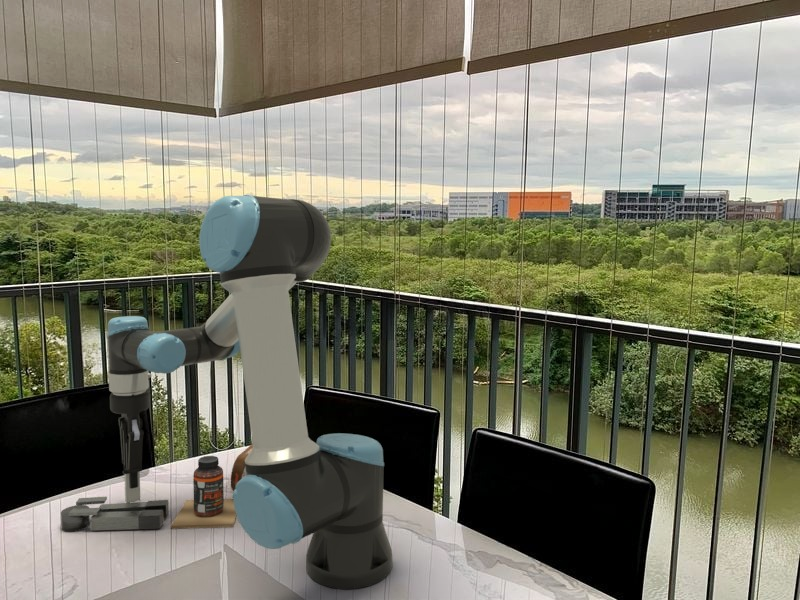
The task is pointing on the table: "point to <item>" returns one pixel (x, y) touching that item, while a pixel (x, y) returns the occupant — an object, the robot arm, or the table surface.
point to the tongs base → (109, 519)
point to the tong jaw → (126, 505)
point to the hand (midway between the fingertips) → (132, 500)
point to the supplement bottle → (208, 487)
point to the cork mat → (191, 520)
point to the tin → (239, 467)
